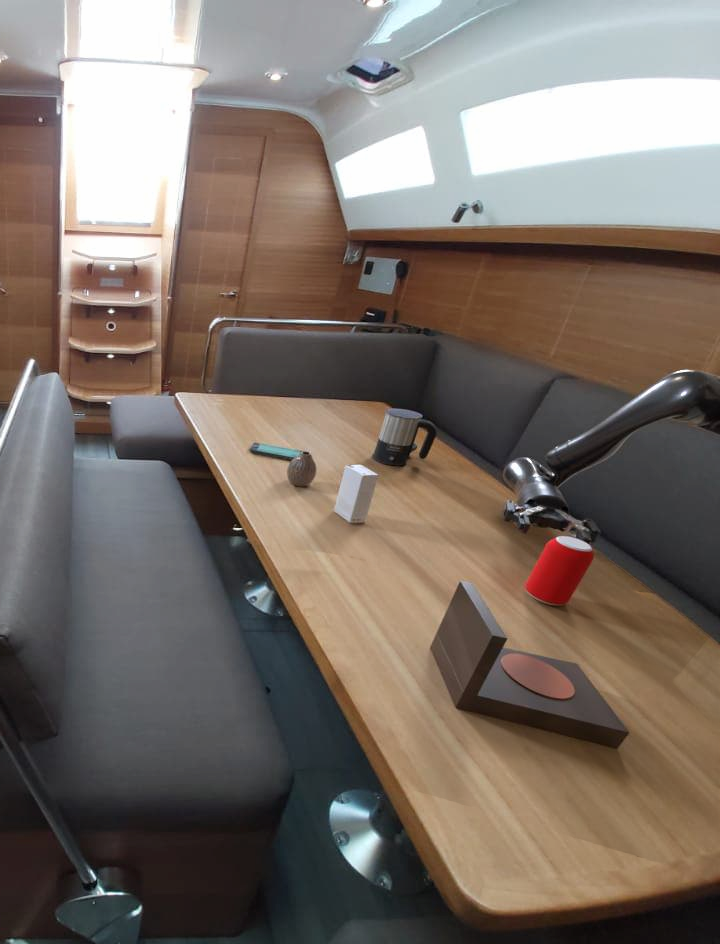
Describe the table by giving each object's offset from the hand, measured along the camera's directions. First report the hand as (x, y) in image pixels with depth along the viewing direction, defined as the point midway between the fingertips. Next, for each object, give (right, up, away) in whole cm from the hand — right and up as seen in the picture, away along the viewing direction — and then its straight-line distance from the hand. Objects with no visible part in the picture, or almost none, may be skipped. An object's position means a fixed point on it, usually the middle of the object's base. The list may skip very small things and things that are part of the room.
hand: (554, 536), depth 95 cm
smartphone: (-31, +18, +56) cm, 66 cm away
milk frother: (+5, +18, +57) cm, 60 cm away
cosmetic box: (-28, +2, +21) cm, 35 cm away
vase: (-33, +10, +37) cm, 50 cm away
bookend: (-29, -20, -24) cm, 42 cm away
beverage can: (-6, -11, -4) cm, 13 cm away
